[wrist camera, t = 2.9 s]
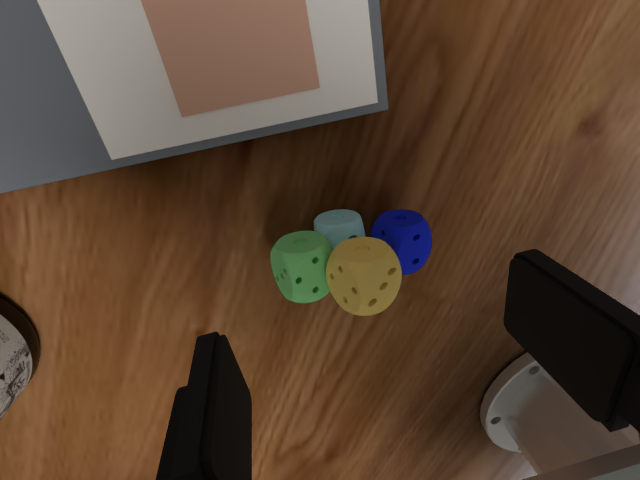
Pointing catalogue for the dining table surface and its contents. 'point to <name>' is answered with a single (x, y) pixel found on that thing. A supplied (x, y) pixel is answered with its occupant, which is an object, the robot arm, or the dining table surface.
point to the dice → (351, 259)
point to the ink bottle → (15, 354)
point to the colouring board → (174, 78)
